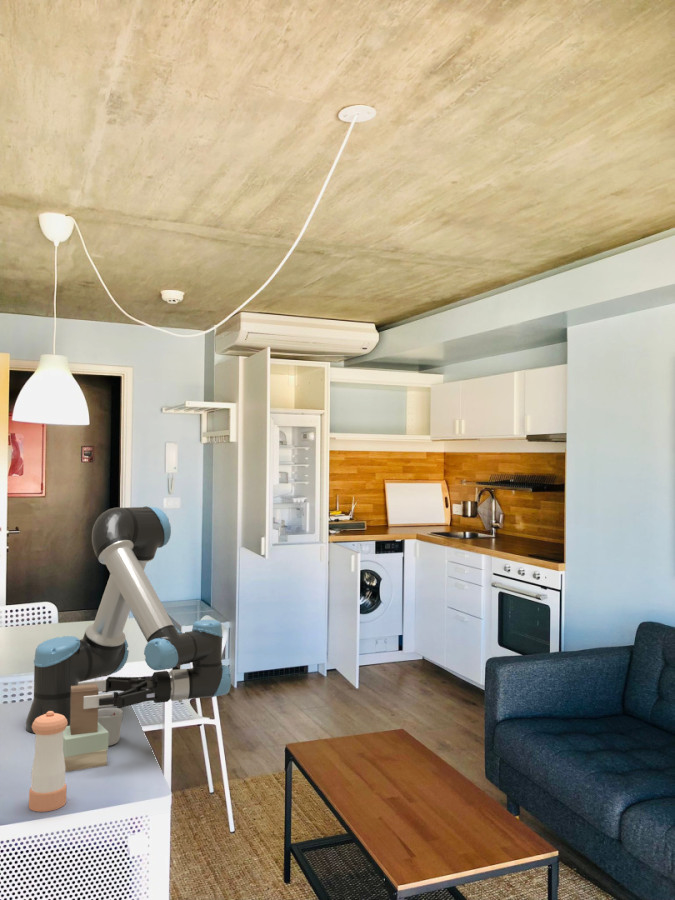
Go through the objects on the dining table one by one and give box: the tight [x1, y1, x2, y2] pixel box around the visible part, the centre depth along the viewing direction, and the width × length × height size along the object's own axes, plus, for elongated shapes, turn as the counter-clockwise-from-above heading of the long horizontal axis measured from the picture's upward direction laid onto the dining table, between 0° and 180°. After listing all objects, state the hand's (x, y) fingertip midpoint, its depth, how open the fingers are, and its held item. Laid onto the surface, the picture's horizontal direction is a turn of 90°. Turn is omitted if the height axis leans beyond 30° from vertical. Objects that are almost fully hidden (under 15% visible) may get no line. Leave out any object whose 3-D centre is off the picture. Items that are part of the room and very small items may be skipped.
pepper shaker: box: [28, 711, 68, 813], centre depth 155 cm, size 7×7×19 cm
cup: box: [98, 707, 124, 747], centre depth 192 cm, size 11×8×8 cm
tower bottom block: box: [64, 749, 108, 772], centre depth 178 cm, size 10×10×4 cm
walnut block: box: [70, 684, 99, 735], centre depth 179 cm, size 6×6×10 cm
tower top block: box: [63, 722, 109, 757], centre depth 178 cm, size 10×10×4 cm
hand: (80, 695), depth 178 cm, fingers open, 13 cm apart
